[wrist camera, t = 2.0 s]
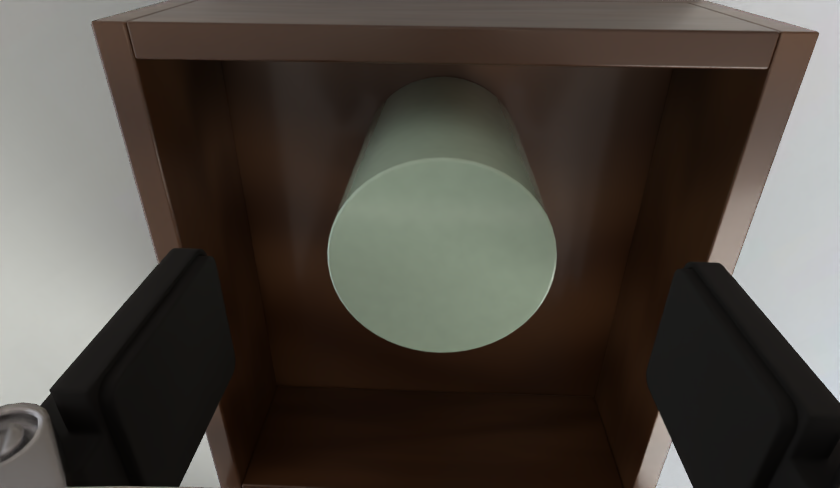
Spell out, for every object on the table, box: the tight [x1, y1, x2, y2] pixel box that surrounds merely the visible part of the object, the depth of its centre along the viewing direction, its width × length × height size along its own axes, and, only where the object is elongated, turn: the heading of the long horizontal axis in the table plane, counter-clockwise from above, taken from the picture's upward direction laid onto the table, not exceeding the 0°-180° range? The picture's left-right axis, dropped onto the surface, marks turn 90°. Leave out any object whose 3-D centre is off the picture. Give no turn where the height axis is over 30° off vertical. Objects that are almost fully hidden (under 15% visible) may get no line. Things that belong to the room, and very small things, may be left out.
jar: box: [327, 77, 557, 353], centre depth 15 cm, size 5×5×7 cm
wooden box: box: [92, 0, 819, 488], centre depth 18 cm, size 17×16×6 cm
